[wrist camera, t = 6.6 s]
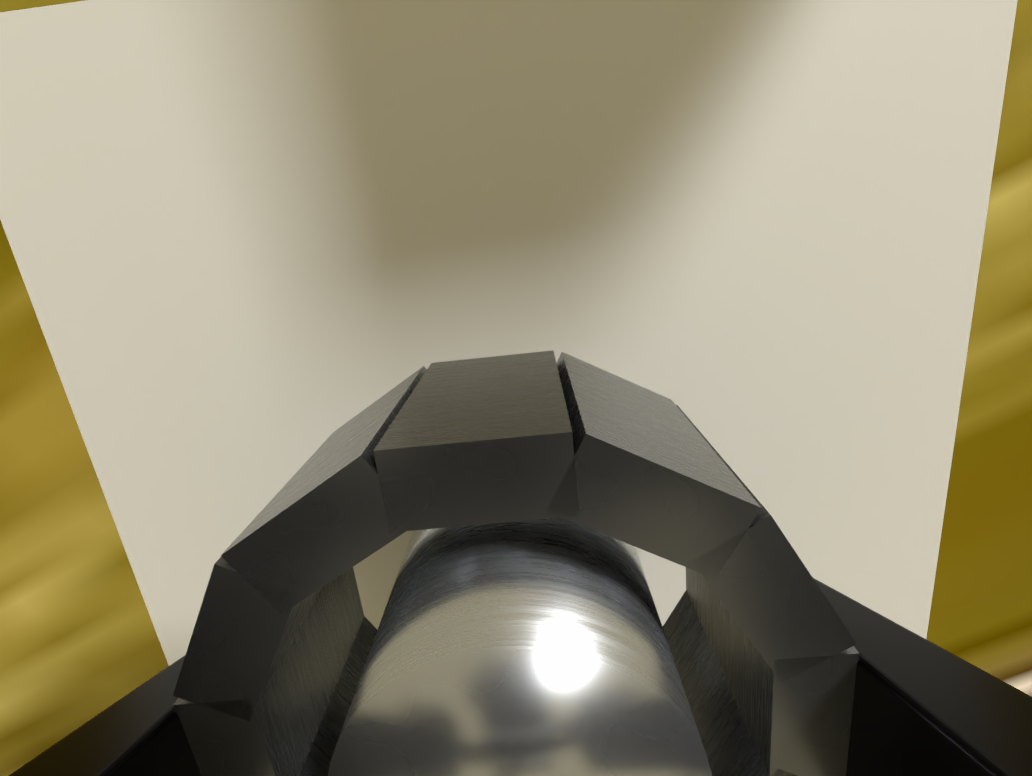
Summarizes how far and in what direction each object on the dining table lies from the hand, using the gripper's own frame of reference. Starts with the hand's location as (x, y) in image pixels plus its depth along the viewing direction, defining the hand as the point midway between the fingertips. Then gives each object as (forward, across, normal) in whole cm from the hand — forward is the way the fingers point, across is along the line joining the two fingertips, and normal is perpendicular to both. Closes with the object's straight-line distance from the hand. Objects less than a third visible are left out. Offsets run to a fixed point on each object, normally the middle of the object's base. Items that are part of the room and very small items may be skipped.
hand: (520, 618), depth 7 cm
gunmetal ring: (+1, 0, 0) cm, 1 cm away
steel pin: (+3, 0, 0) cm, 3 cm away
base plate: (+4, 0, 0) cm, 4 cm away
